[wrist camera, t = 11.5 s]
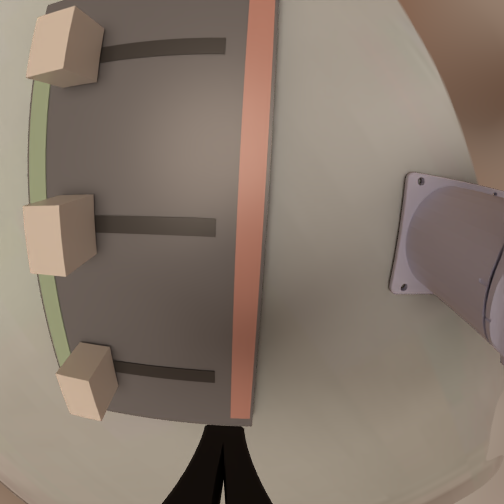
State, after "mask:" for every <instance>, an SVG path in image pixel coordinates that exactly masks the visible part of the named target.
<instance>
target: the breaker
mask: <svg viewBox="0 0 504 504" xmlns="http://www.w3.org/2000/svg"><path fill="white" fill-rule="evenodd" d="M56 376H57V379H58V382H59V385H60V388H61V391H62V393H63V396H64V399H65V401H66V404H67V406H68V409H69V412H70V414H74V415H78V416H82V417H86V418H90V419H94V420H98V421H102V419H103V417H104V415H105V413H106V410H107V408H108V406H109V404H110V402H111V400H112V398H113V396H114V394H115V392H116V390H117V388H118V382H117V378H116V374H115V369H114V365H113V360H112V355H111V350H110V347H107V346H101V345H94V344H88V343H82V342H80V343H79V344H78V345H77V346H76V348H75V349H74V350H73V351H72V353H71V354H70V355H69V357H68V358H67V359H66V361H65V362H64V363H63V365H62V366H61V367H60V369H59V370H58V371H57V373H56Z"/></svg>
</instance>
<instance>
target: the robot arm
mask: <svg viewBox="0 0 504 504" xmlns="http://www.w3.org/2000/svg"><path fill="white" fill-rule="evenodd" d="M419 178H421V179H422V182H421V184H420V185H419V184H418V179H419ZM493 193H494V195H493ZM403 284H405V286H404V288H402V289H401V286H402V285H403ZM389 289H390V291H391V292H392V293H394V294H435V295H436V296H437V297H438V298H439V299H441V300H442V301H443V302H444V303H445V304H446V305H448V306H449V307H450V308H451V309H452V310H453V311H455V312H456V313H457V314H458V315H459V316H460V317H461V318H462V319H464V320H465V321H466V322H467V323H468V324H469V325H470V326H471V327H473V328H474V329H475V330H476V331H477V332H478V333H479V334H480V335H481V336H482V337H483V338H485V339H486V340H487V341H488V342H489V343H490V344H491V345H492V346H493V347H494V348H495V349H496V350H497V351H498V352H499V353H500V362H501V363H502V364H503V365H504V191H501V190H497V189H493V188H489V187H485V186H481V185H476V184H472V183H467V182H463V181H458V180H453V179H448V178H443V177H438V176H433V175H427V174H422V173H416V172H410V173H408V174H407V176H406V179H405V189H404V198H403V206H402V214H401V221H400V228H399V235H398V241H397V247H396V253H395V259H394V264H393V269H392V275H391V280H390V284H389ZM223 480H224V491H225V504H272V502H271V500H270V498H269V497H268V495H267V493H266V491H265V489H264V487H263V485H262V483H261V481H260V479H259V477H258V475H257V472H256V470H255V468H254V465H253V463H252V460H251V457H250V454H249V451H248V448H247V444H246V439H245V434H244V428H243V427H241V426H220V425H207V426H205V428H204V432H203V435H202V438H201V440H200V443H199V445H198V447H197V449H196V451H195V454H194V455H193V457H192V459H191V461H190V463H189V465H188V467H187V468H186V470H185V472H184V473H183V475H182V476H181V478H180V480H179V481H178V483H177V484H176V486H175V487H174V488H173V490H172V491H171V493H170V494H169V495H168V497H167V498H166V499H165V500H164V502H163V503H162V504H220V500H221V493H222V487H223Z"/></svg>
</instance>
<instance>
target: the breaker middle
mask: <svg viewBox="0 0 504 504" xmlns="http://www.w3.org/2000/svg"><path fill="white" fill-rule="evenodd" d="M23 216H24V227H25V237H26V245H27V253H28V260H29V266H30V272H31V273H33V274H43V275H53V276H63V277H66V276H68V275H69V274H70V273H72V272H73V271H74V270H76V269H77V268H78V267H80V266H81V265H82V264H84V263H85V262H86V261H88V260H89V259H90V258H92V257H93V256H94V255H96V254H97V249H96V236H95V220H94V194H84V195H59V196H55V197H52V198H48V199H45V200H41V201H38V202H35V203H31V204H28V205H25V206H23Z"/></svg>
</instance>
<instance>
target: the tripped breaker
mask: <svg viewBox="0 0 504 504" xmlns="http://www.w3.org/2000/svg"><path fill="white" fill-rule="evenodd" d="M103 34H104V28H103V27H102V26H101V25H99V24H98V23H97V22H95V21H94V20H93V19H92V18H90V17H89V16H88V15H87V14H85V13H84V12H83V11H81V10H80V9H79V8H77V7H76V6H72V7H69V8H66V9H62V10H59V11H56V12H53V13H49V14H46V15H44V16H41V17H38V18H37V22H36V26H35V31H34V35H33V40H32V45H31V50H30V55H29V61H28V67H27V74H26V78H29V79H32V80H36V81H40V82H44V83H47V84H51V85H54V86H58V87H61V88H65V87H71V86H76V85H82V84H88V83H95V82H97V76H98V67H99V60H100V53H101V46H102V40H103Z"/></svg>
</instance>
